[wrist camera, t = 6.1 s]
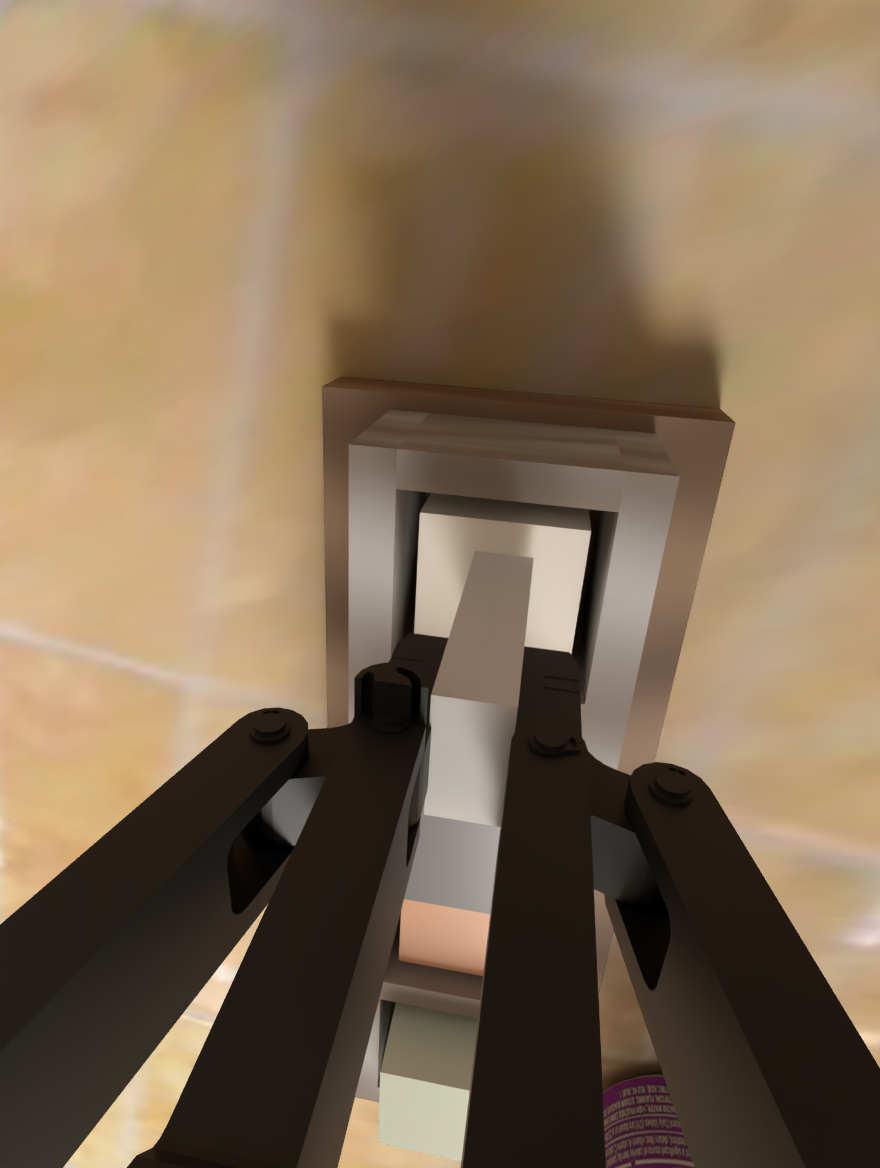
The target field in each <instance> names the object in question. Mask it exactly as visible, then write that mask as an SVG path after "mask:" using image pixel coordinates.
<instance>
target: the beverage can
mask: <svg viewBox="0 0 880 1168" xmlns="http://www.w3.org/2000/svg"><path fill="white" fill-rule="evenodd" d="M603 1113H604V1136H605V1159H606V1168H695V1167H694V1164H693V1161H692V1158H691V1155H690V1152H689V1149H688V1147H687V1144H686V1141H685V1138H684V1135H683V1132H682V1129H681V1126H680V1123H679V1120H678V1117H677V1114H676V1111H675V1108H674V1105H673V1102H672V1099H671V1096H670V1093H669V1091H668V1088H667V1085H666V1082H665V1079H664V1076H663V1074H648V1075H642V1076H638V1077H635V1078H632V1079H628V1080H624V1081H621V1082H619V1083H617V1084H615V1085H613V1086H611V1087H609V1088H608V1089H606V1090H605V1091H604V1092H603Z"/></svg>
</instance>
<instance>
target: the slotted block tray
mask: <svg viewBox="0 0 880 1168" xmlns="http://www.w3.org/2000/svg"><path fill="white" fill-rule="evenodd" d="M322 397H323V460H324V524H325V587H326V650H327V714H328V728H333V727H339V726H343V725H346V724H349V723H351V722H352V720H353V718H354V678H355V676H356V675H357V674H358V673H359V672H360V671H361V670H363V669H365V668H367V667H369V666H371V665H375V664H380V663H389V661H390V659H391V656H392V654H393V651H394V649H395V647H396V645H397V643H398V642H400V641H401V640H402V639H404V638H405V637H406V636H408V635H409V634H410V633H414V626H415V605H416V584H417V562H418V541H419V520H420V511H421V510H422V508H423V506H424V504H425V503H426V501H427V499H428V497H429V496H430V494H431V493H438V494H448V495H457V496H467V497H477V498H486V499H496V500H505V501H515V502H524V503H534V504H544V505H553V506H563V507H572V508H582V509H589V516H590V524H591V536H590V542H589V548H588V554H587V560H586V567H585V573H584V579H583V585H582V591H581V598H580V604H579V610H578V616H577V622H576V629H575V635H574V641H573V647H572V653H571V655H572V657H573V658H574V659H575V661H576V662H577V663H578V665H579V669H580V697H581V724H582V738H583V739H584V740H585V743H586V746H587V749H588V751H589V752H590V753H591V754H592V755H593V756H594V757H595V758H596V759H597V760H599V761H600V762H602V763H603V764H605V765H607V766H609V767H611V768H613V769H615V770H618V771H621V772H623V773H626V774H629V775H632V773H633V771H634V770H635V769H636V768H638V767H640V766H641V765H643V764H648V763H654V760H655V756H656V751H657V747H658V743H659V739H660V735H661V731H662V726H663V722H664V718H665V714H666V710H667V706H668V701H669V697H670V693H671V689H672V685H673V681H674V676H675V672H676V668H677V664H678V660H679V656H680V651H681V647H682V643H683V639H684V635H685V631H686V626H687V622H688V618H689V614H690V610H691V606H692V601H693V597H694V593H695V589H696V585H697V581H698V576H699V572H700V568H701V564H702V560H703V556H704V551H705V547H706V543H707V539H708V535H709V531H710V527H711V522H712V518H713V514H714V510H715V506H716V502H717V497H718V493H719V489H720V485H721V481H722V477H723V472H724V468H725V464H726V460H727V456H728V452H729V447H730V443H731V439H732V435H733V431H734V427H735V422H734V421H733V420H732V419H731V418H730V417H729V416H727V415H726V414H725V413H724V412H723V411H722V410H721V409H711V408H699V407H688V406H676V405H664V404H653V403H641V402H629V401H617V400H606V399H594V398H582V397H571V396H559V395H547V394H535V393H524V392H512V391H500V390H489V389H477V388H465V387H454V386H442V385H430V384H418V383H407V382H395V381H383V380H372V379H360V378H348V377H340V378H338V379H336V380H334V381H332V382H330V383H328V384H326V385H324V386H322ZM594 904H595V927H596V951H597V974H598V993H599V989H600V985H601V980H602V976H603V972H604V968H605V964H606V960H607V955H608V951H609V947H610V943H611V939H612V935H613V930H614V929H613V926H612V923H611V920H610V917H609V914H608V911H607V908H606V905H605V897H604V894H603V893H601V892H599V891H597V890H595V889H594ZM400 923H401V913H400V917H399V921H398V925H397V929H396V933H395V937H394V941H393V945H392V949H391V953H390V957H389V961H388V965H387V969H386V973H385V977H384V982H383V986H382V990H381V994H380V998H379V1002H378V1006H377V1010H376V1014H375V1018H374V1022H373V1026H372V1030H371V1034H370V1038H369V1042H368V1046H367V1050H366V1054H365V1058H364V1062H363V1066H362V1070H361V1074H360V1078H359V1082H358V1086H357V1090H356V1094H355V1097H357V1098H361V1099H366V1100H371V1101H376V1102H379V1094H380V1071H381V1067H382V1062H383V1058H384V1053H385V1049H386V1044H387V1040H388V1035H389V1031H390V1026H391V1022H392V1017H393V1013H394V1009H395V1004H396V1002H397V1003H402V1004H407V1005H413V1006H418V1007H423V1008H428V1009H433V1010H438V1011H443V1012H448V1013H454V1014H459V1015H464V1016H469V1017H474V1018H478V1015H479V1007H480V998H481V990H482V981H483V976H480V975H474V974H469V973H464V972H458V971H453V970H448V969H442V968H437V967H432V966H426V965H421V964H416V963H410V962H405V961H400V960H399V945H400Z"/></svg>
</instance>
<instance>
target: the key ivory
mask: <svg viewBox="0 0 880 1168" xmlns="http://www.w3.org/2000/svg"><path fill="white" fill-rule="evenodd" d="M590 536H591V524H590V516H589V509H582V508H572V507H563V506H553V505H544V504H534V503H524V502H515V501H505V500H496V499H486V498H477V497H467V496H457V495H448V494H438V493H431V494H430V496H429V497H428V499H427V501H426V503H425V504H424V506H423V508H422V510H421V511H420V520H419V541H418V562H417V584H416V605H415V626H414V634H422V635H430V636H437V637H445V638H449V635H450V632H451V628H452V625H453V622H454V619H455V615H456V612H457V609H458V606H459V602H460V599H461V596H462V593H463V589H464V586H465V583H466V580H467V576H468V573H469V570H470V567H471V563H472V560H473V557H474V554H475V551H480V552H488V553H497V554H506V555H514V556H523V557H532V558H534V559H533V569H532V578H531V588H530V598H529V607H528V617H527V626H526V636H525V646H526V647H534V648H541V649H549V650H556V651H564V652H570V654H571V653H572V647H573V641H574V635H575V629H576V622H577V616H578V610H579V604H580V598H581V591H582V585H583V579H584V573H585V567H586V560H587V554H588V548H589V542H590Z"/></svg>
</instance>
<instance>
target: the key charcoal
mask: <svg viewBox="0 0 880 1168" xmlns="http://www.w3.org/2000/svg"><path fill="white" fill-rule="evenodd" d="M424 803H425V801H424ZM500 829H501V827H497V826H491V825H484V824H478V823H472V822H466V821H460V820H454V819H448V818H442V817H436V816H430V815H424V805H423V809H422V813H421V821H420V836H419V841H418V845H417V849H416V853H415V857H414V861H413V865H412V869H411V873H410V877H409V881H408V885H407V889H406V893H405V897H404V899H406V900H412V901H418V902H423V903H429V904H435V905H440V906H446V907H452V908H457V909H463V910H469V911H474V912H480V913H486V914H490V913H491V904H492V896H493V887H494V876H495V868H496V860H497V853H498V845H499V837H500Z"/></svg>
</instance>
